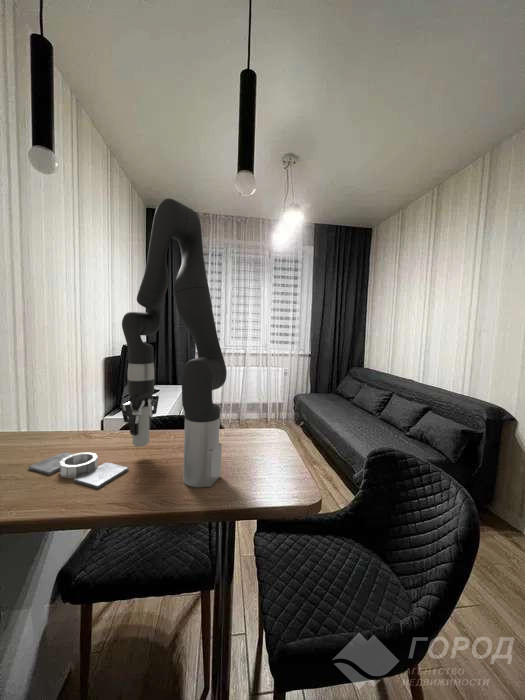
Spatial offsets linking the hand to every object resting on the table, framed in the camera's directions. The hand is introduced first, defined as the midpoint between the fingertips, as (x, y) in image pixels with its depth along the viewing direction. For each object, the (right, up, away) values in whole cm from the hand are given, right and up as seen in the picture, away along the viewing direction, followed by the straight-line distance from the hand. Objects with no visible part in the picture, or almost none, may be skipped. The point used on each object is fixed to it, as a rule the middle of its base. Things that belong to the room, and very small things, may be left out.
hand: (141, 431), depth 87 cm
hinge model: (-13, -8, -9) cm, 18 cm away
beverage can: (0, -4, 0) cm, 4 cm away
